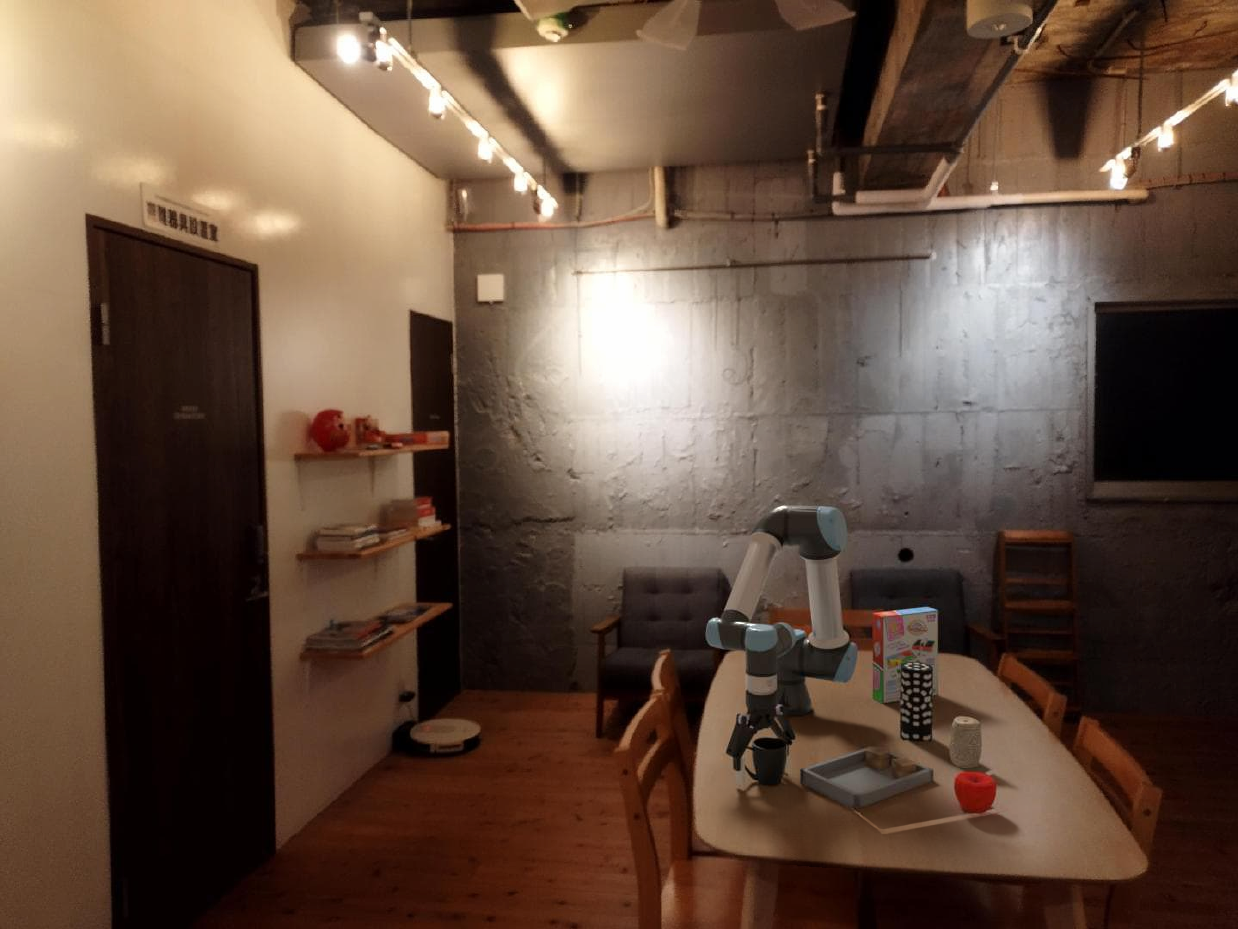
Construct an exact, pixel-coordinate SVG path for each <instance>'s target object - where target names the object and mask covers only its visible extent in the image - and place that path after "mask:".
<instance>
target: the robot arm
mask: <svg viewBox="0 0 1238 929" xmlns="http://www.w3.org/2000/svg"><path fill="white" fill-rule="evenodd" d="M842 512H843V511H841V510H839V508H836V507H831V506H825V505H820V506H819V505H800V504H799V505H798V504H797V505H795V504H783V505H779V506H776V507H775V508H773V509H771V510H769V511H768V512H766V513H765V514H764V515H763V516H762V517H761V518H760V519H759V520H758V521H757V522H756V523H755V525H754V527H753V528H752V530H751V532H750V535H749V537H748V541H747V542H748V546H749V547H748V550H747V552H746V555H745V557H744V559H743V562H742V564H741V567H740V569H739V571H738V574H737V577H736V579H735V582H734V584H733V587H732V589H731V592H730V594H729V597H728V599H727V602H726V605H725V607H724V610H723V612H722V614H721V617H712V618H711V619H710V620H708V622H707V625H706V627H705V628H706V629H705V639H706V641H707V644H709V646H711V647H714V648H717V649H722V650H730V651H737V652H738V651H739V652H745V685H744V686H745V689H746V690H745V705H746V708H747V710H746V714H742V713H737V714H736V715H735V716H736V718H735V724H734V728H733V731H732V733H731V736H730V738H729V742H728V745H727V746H726V750H725V754H726V755H727V756H729V757H731V758H732V769H733V770H734V782H736V783H738V784H740V785H741V786H745V785H746V770H745V765H746V763H745V762H746V757H744V754H745V752H746V751H747V750H748V749H747V747H748V746H749V744H750V743H751V741H752V740H753V738H754V736H755V735H757V733H758V731H762V730H764V729H769V728H770V729H771V731H772V732H773V734H774V735H775V736H776V738H778V739H781V740H783V741H785V742H786V744H787V758H786V765H785V770H784V773H786V772H788V757H789V754H790V746H792V745H793V741H795V740H796V735H795V734H796V733H795V732H794V729H793V727H792V724H791V722H790V720H789V718H788V717H791V716H801V715H805V714H808V713H809V712H811V711H812V700H811V697H810V694H809V690H808V687H807V683H806V678H809V679H816V680H822V681H830V682H833V683H836V682H837V683H848V682H850V680H851V679H852V677H853V675H854V673H855V669H856V666H857V660H858V646H857V644H856V643H854V642H851V641H850V636H849V634H848V632H847V631H846V630H844V627H843V614H842V605H841V596H840V595H841V594H840V593H841V592H840V584H839V573H838V563H837V558H838V557H839V556H840V555H841V553H842V550H844V549H845V548H846V545H847V542H848V536H847V534H848V527H847V526H848V525H847V522H846V518H845V516H844V514H843V513H842ZM784 547H797V548H798V555H799V557H800V558H802V559H803V560H804V562H805V570H806V581H807V589H808V598H809V599H808V600H809V609H810V618H811V628H812V632H810V633H809V635H808V636H807V633H806V631H805V630H802V629H799V628H798V629H794V628H793V627H792V626H791V625H790V624H789V623H786V622H781V621H780V622H775V623H773V624H767V623H766V624H765V623H756V622H751V620H752V618H753V615H754V612H755V610H756V607H757V605H758V602H759V599H760V597H761V594H762V591H763V590H764V587H765V584H766V581H767V579H768V576H769V574H770V571H771V569H772V567H773V563H774V560H775V559H776V558H775V557H776V556H777V555H780V553H782V550H783V548H784ZM775 717H777V720H778V721H779V722H777V720H776V719H775ZM779 724H780V725H779ZM738 751H739V752H738Z"/></svg>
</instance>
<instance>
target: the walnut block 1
mask: <svg viewBox="0 0 1238 929" xmlns="http://www.w3.org/2000/svg"><path fill="white" fill-rule="evenodd" d="M876 746H877V745H875V747H873V748H871V749H869V750H867V751H866V766H867V767H870V768H873V769H876V770H879V771H882V770H884V769H885V768H887V767H889V752H890V750H889V749H888V750H887V749H886V748H881V747H879V746H877V747H876Z"/></svg>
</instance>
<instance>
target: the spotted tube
mask: <svg viewBox="0 0 1238 929" xmlns="http://www.w3.org/2000/svg"><path fill="white" fill-rule="evenodd" d="M933 698H934V696H933V667H932V666H931V665H929V664H926V663H921V662H905V663H902V664H901V665H900V701H899V739H900V740H902V741H903V742H904V741H910V742H911V741H912V742H917V743H918V742H923V743H924V742H928V743H931V742H933Z"/></svg>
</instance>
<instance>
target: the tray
mask: <svg viewBox="0 0 1238 929" xmlns="http://www.w3.org/2000/svg"><path fill="white" fill-rule="evenodd" d="M875 746H876V747H878V746H877V745H870V746H868V747H865V748H862V749H858V750H856V751H851V752H849V753H847V754H843V755H840V756H838V757H833V758H831V759H827V760H825V761H821V762H818V763H815V764H812V765H808V766H805V767H803V768H799V770H800V772H799V773H800V775H799V778H800V779H799V782H800V784H801V785H803V786H805V787H807V788H809V789H811V790H813V791H815V792H817V793H819V794H821V795H823V796H825V797H827V798H829V799H830V800H833V801H835V802H837V803H839V804H841V805H843V806H845V807H847V808H849V809H851V810H853V811H855V812H857V813H859V812H860V811H859V810H858V809H861V808H864V807H867V806H869V805H872V804H874V803H877V802H879V801H882V800H886V799H888V798H891V797H893V796H897V795H899V794H901V793H904V792H906V791H910V790H912V789H915V788H917V787H920V786H923V785H925V784H928V783H932V782H934V769H933V768H931V767H928V766H926V765H923V764H921V763H918V762H916V761H913V760H912V761H913V762H914V763H916V773H913V774H911V775H908V776H905V777H902V778H899V779H896V778H895V777H893V776H892V759H898V758H904V756H903V755H902V756H901V755H900V754H897V753H894V752H891V751H889V767H887V768H885V769H884V770H882V771H879V770H876V769H873V768H870V767H867V766H866V751H867V750H869V749H871V748H873V747H875Z"/></svg>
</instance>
